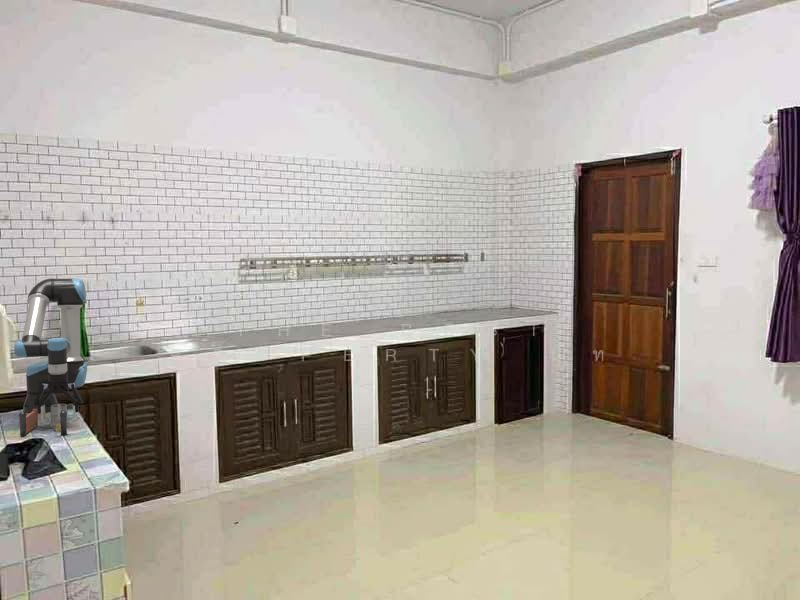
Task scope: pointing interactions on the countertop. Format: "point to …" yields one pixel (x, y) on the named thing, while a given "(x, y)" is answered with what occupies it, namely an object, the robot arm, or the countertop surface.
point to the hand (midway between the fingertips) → (59, 419)
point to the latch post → (62, 423)
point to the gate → (31, 420)
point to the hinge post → (22, 424)
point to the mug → (57, 414)
